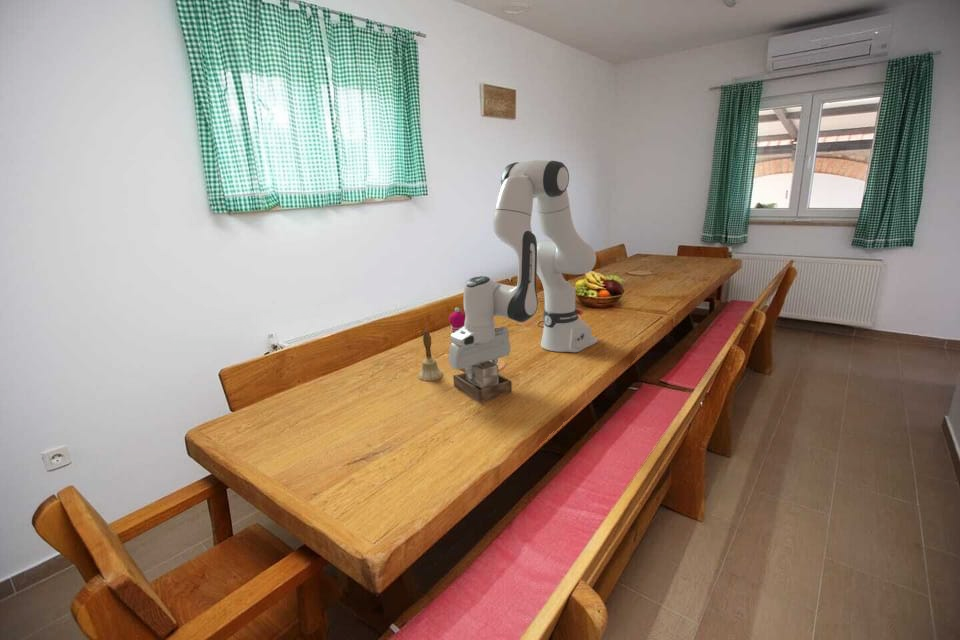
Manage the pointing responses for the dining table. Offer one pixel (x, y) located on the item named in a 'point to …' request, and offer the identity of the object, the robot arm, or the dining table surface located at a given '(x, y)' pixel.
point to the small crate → (484, 375)
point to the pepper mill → (457, 320)
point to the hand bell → (429, 362)
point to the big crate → (479, 393)
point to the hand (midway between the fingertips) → (481, 375)
